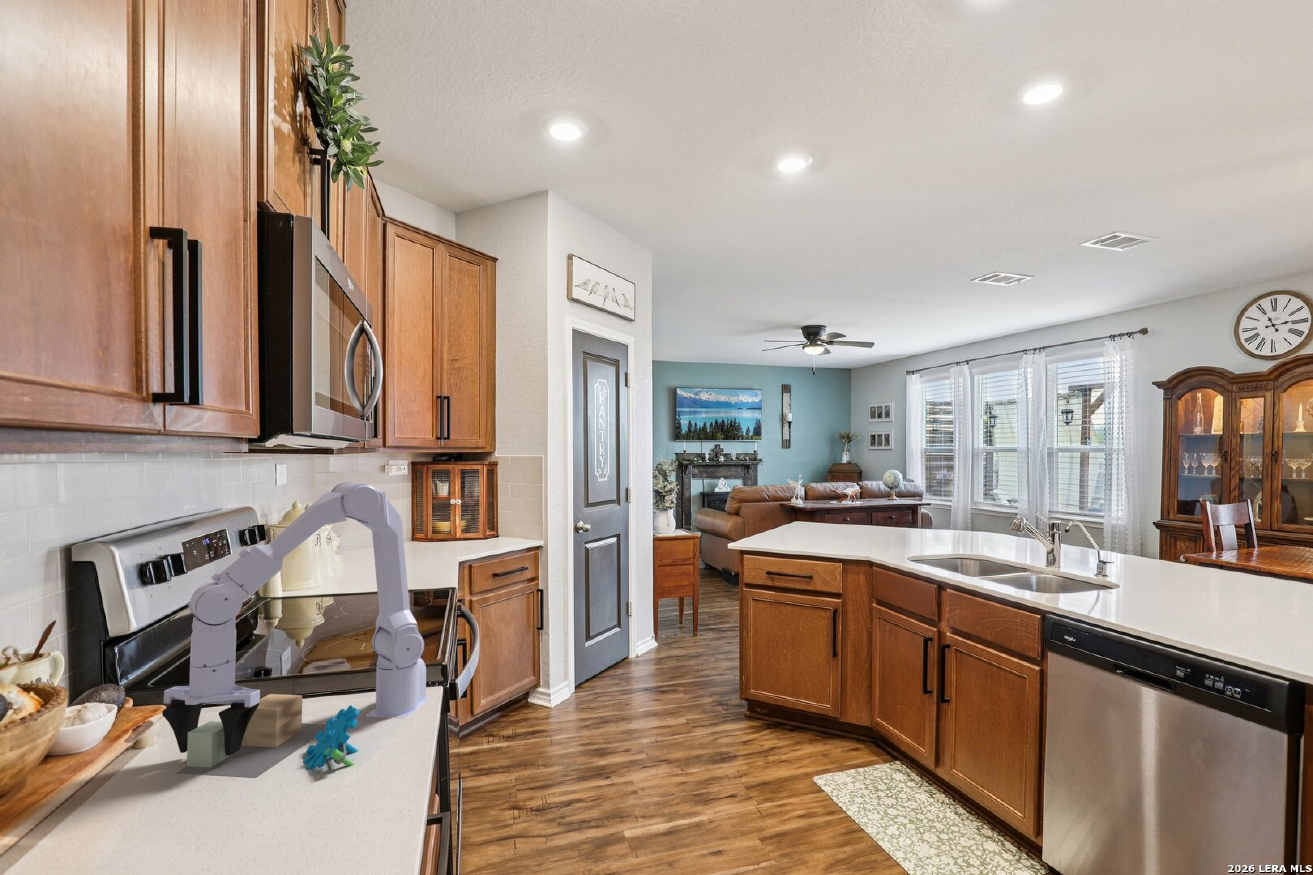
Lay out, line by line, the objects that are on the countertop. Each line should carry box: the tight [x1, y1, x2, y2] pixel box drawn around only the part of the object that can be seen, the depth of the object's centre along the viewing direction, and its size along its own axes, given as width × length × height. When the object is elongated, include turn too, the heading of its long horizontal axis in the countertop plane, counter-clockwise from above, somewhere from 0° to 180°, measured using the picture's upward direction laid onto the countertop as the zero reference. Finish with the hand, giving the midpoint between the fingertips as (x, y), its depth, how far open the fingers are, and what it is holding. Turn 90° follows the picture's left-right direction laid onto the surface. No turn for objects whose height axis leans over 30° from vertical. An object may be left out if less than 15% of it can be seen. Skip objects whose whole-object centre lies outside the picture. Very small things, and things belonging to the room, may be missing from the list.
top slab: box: [247, 693, 303, 728], centre depth 101 cm, size 6×6×3 cm
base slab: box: [241, 713, 303, 747], centre depth 101 cm, size 6×6×3 cm
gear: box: [302, 705, 360, 770], centre depth 94 cm, size 11×6×10 cm
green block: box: [186, 720, 231, 767], centre depth 93 cm, size 4×4×5 cm
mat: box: [174, 722, 326, 779], centre depth 97 cm, size 18×13×1 cm
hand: (210, 750), depth 93 cm, fingers open, 7 cm apart
